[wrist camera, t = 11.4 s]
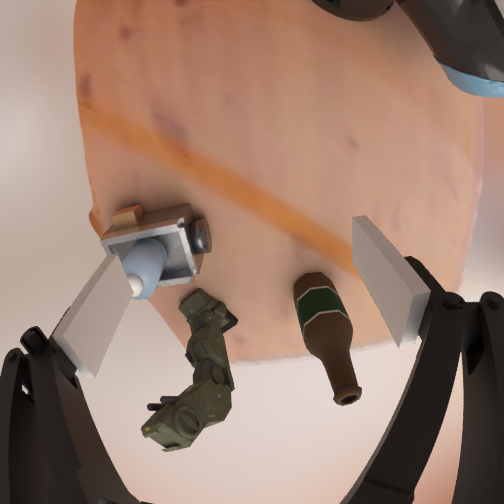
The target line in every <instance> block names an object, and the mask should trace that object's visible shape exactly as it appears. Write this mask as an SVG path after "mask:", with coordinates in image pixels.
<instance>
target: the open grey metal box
mask: <svg viewBox="0 0 504 504" xmlns="http://www.w3.org/2000/svg"><path fill="white" fill-rule="evenodd" d="M111 220H112V223H113V225H112V226H111V227H110V228H109V229H108V230H107V231H106V232H105V233H104V234H103V238H102V239H101V240H100V241H101V244H102V246H103V247H104V249H105V252H106V254H107V256H110V255H116V254H117V255H118V257H119V259H120V262H121V263H122V262H123V260H124V259H125V257H126V256H127V254H128V253H129V251H130V250H131V248H132V247H133V246H134V244H135V243H136V242H137V241H138V240H140V239H142V238H152V239H155V240H157V241H159V242H160V243H161V244H162V245H163V246H164V247H165V249H166V251H167V262H166V265H165V267H164V269H163V272H162V274H161V276H160V279H159V281H158V284H157V286H156V288H157V287H164V286H171V285H178V284H185V283H192V282H194V281H195V277H196V274H199V273H200V269H201V265H202V260H203V256H204V253H209V252H211V236H210V231H209V227H208V224H207V221H206V220H205V219H202V220H196V221H195V219H194V215H193V211H192V208H191V204H185V205H180V206H175V207H170V208H166V209H161V210H157V211H152V212H148V213H142V210H141V207H140V204H139V205H135V206H131V207H127V208H123V209H119V210H117V211H116V212H115V213H114V214H113V215H112V216H111Z"/></svg>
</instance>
